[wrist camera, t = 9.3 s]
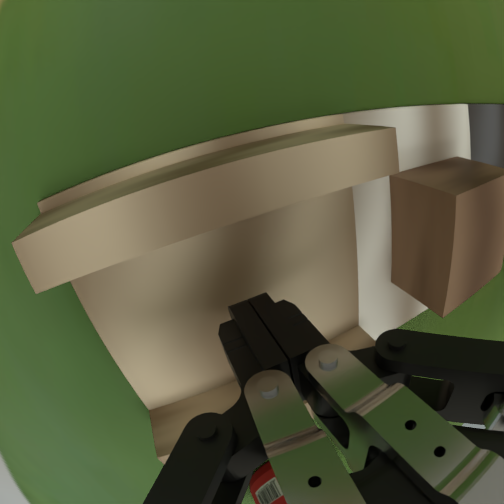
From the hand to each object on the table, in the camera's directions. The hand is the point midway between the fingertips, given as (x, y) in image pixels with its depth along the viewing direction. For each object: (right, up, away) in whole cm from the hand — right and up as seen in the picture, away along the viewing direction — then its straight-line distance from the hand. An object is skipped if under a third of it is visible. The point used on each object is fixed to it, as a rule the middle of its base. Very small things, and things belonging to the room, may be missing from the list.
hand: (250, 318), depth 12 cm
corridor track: (+9, +4, +4) cm, 10 cm away
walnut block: (+10, +4, +4) cm, 11 cm away
